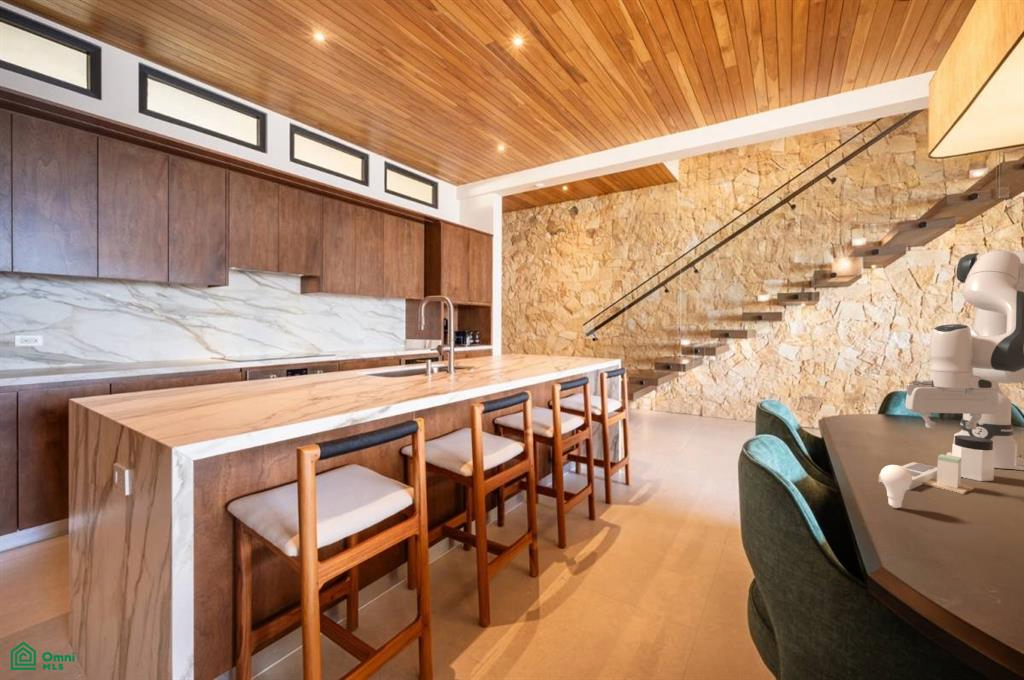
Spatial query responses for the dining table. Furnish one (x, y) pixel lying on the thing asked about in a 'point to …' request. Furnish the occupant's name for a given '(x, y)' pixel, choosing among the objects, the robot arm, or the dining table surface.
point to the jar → (975, 457)
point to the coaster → (961, 489)
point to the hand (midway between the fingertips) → (950, 428)
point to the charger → (949, 470)
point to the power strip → (919, 473)
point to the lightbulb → (895, 483)
